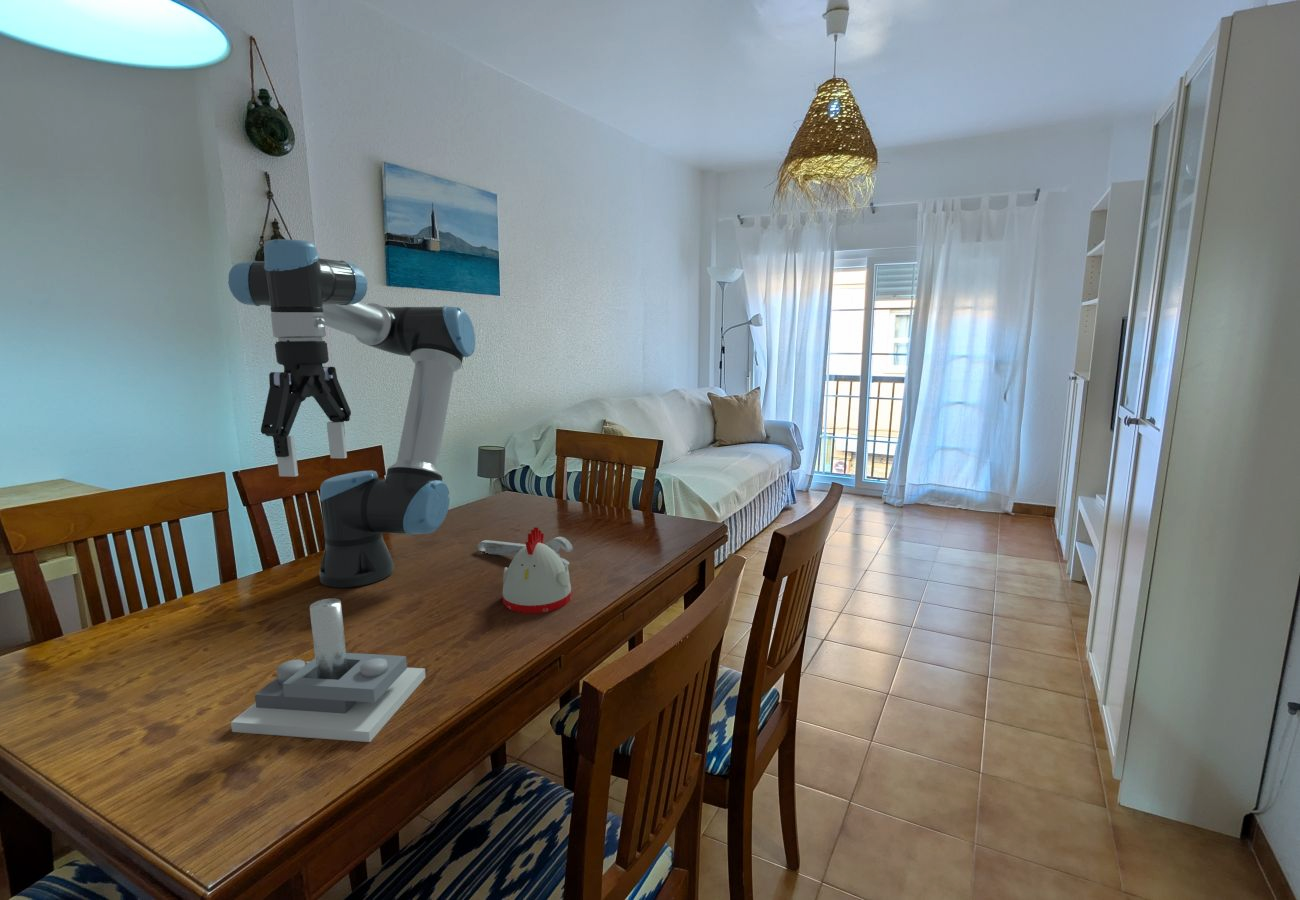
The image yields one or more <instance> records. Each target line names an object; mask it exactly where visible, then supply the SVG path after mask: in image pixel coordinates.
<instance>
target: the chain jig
mask: <svg viewBox="0 0 1300 900" xmlns="http://www.w3.org/2000/svg"><path fill="white" fill-rule="evenodd" d="M346 657H347V666H348V672H347V673H346V674H344V675H343V676H342V677H341V678H340V679H339V680H333V679H318V678H317V670H316V661H315V657H313V659H311V660H310V661H304V660H303V659H292V660H288V661H287V660H286V661H285V662H283V663H280V664H279V665H278V666H277V667H276V673H277V674H276V675H277V677H275V678H274V679H273V680H271V682H269V683H267V684H266V685H265V686H264V687H263V688H261V689H260V690H258V691H257V692H256V693H255V694H254V701H255V702H254V703H253V704H252V705H251V706H249V707H248V708H247V709H246V710H244V711H243V712H241V713H240V714H239V715H238V716H236V717H235V718H233V720H232V721H230V727H231V732H232V733H243V734H254V735H257V734H259V735H267V736H268V735H269V736H270V735H271V736H279V737H280V736H281V737H282V736H283V737H295V738H296V737H298V738H311V739H324V740H337V741H348V742H349V741H351V742H365V743H370V742H372V741H373V739H374V738H375V737H376V736H377V735H378V734H379V732H380V731H381V730H382V729H383V728H384V726H385V725H387V724H388V722H389V721H390V719H392V717H393V716H394V715H395V714H396V712H397V711H398V710H399V709H400V708H401V707H402V706H403V704H405V702H406V700H408V698H410V696H411V695H412V694H413V693H414V692H415V690H416V689H417V688H418V687H419V686H420V685H421V684H422V682H423V681H424V680H425V679H426V668H425V667H424V668H422V667H408V663H407V656H406V655H392V654H375V653H359V652H358V653H355V652H346Z"/></svg>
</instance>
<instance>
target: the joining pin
mask: <svg viewBox="0 0 1300 900" xmlns="http://www.w3.org/2000/svg"><path fill="white" fill-rule="evenodd" d="M342 608H343V607H342V601H341V599H339V598H332V597H331V598H324V599H320V600H317V601H315V602H313V603H311V604H310V605H309V615H310V624H311V632H312V634H311V635H312V641H313V651H314V658H315V661H316V670H317V678H318V679H333V680H339V679H340V678H341V677H342V676H343V675H344V674H346V673H347V672H348V666H347V657H346V653H347V649H346V639H345V629H344V618H343V610H342Z"/></svg>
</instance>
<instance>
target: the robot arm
mask: <svg viewBox="0 0 1300 900" xmlns="http://www.w3.org/2000/svg"><path fill="white" fill-rule="evenodd" d="M263 254H264V257H263V259H264V260H263V261H262V260H261V261H259V260H258V261H257V260H251V261H245V262H238V263H235V264H234V265H233V266H232V267H231V268H230V270H229V272H228V278H227V279H228V288H229V290H230V292H231V295H232V296H233V297H234V298H235V299H236V300H237V301H238V302H240V303H241V304H243V305H247V306H255V307H260V306H267V307H270V317H271V328H272V337H274V338H276V339H277V340H278V341H275V343H274V348H275V349H274V350H275V357H276V362H277V364H278V365H282V366H283V371H277V372H276V371H271V372H269V374H268V375H269V376H268V378H269V379H268V380H269V389H268V394H267V399H266V403H265V406H264V413H263V418H262V423H261V427H260V433H261V434H262V435H265V436H266V437H272V440H273V447H274V455H275V457H276V459H277V467H278V476H279V477H292V478H294V477H298V476H299V471H298V469H299V468H298V461H297V453H296V446H295V438H294V437H295V436H294V435H291V434H290V433H291V430H292V428H293V425H294V422H295V420H296V417H297V414H298V412H299V409H300V407H301V404H302V402H304V401H306V399H307V398H310V397H313V398H314V400H315V401H316V403H317V404H318V405H319V407H320V408H321V410H322V411H323V413H324V414H325V415H326V417H327V418H328V419H329V421H328V422H326V429H327V438H328V447H329V455H330V459H347V458H348V453H347V446H346V445H347V444H346V432H345V423H344V422H349V421H351V420H350V419H351V415H352V411H351V408H350V406H349V403H348V402H347V399H346V396H345V394H344V392H343V389H342V387H341V384H340V382H339V380H338V376H337V375H338V374H337V369H336V367H335V366H324V365H323V364H327V363H328V362H329V350H328V343H327V342H326V340H323V338H325V337H326V334H327V333H326V327H329V328H331V329H335V330H337V331H340V332H343V333H345V334H348V335H350V336H351V335H352V336H354V337H355V339H356V340H357V341H359V342H360V343H361V344H363V345H366V346H369V347H372V348H375V349H377V350H381V351H384V352H388V353H390V354H394V355H399V356H405V357H410V359H411V361H412V362H413V363H414V365H415V366H414V370H413V374H412V375H413V376H412V379H411V380H412V381H411V385H410V391H409V396H408V400H407V407H406V411H405V416H404V422H403V426H402V432H401V437H400V442H399V447H398V451H397V452H398V453H397V458H396V462H395V463H393V464H392V465H390V466H389V467H387V470H386V471H387V472H386V474H385V475H386V476H385V478H384V479H380V478H379V475H378V472H377V471H376V470H362V471H355V472H348V473H344V474H340V475H339V474H338V475H336V476H332V477H330V478H327V479H325V480H323V482H321V484H320V486H319V490H320V491H319V492H320V494H319V495H320V497H319V502H320V509H321V516H322V526H323V533H324V543H325V547H324V551H323V556H322V559H321V563H320V567H319V570H318V571H319V572H318V573H319V582H320V583H321V584H322V585H323V586H326V587H330V588H331V587H332V588H352V587H355V588H356V587H360V586H365V585H370V584H374V583H377V582H379V581H381V580H384V579H386V578H388V577H389V576H390V575H392V574H393V572H394V571H395V566H394V559H393V557H392V555H391V553H390V550H389V549H388V547H387V544H386V543H385V540H384V537H383V536H384V535H383V534H403V535H404V534H405V535H407V534H408V535H411V536H414V535H415V536H416V535H428V534H432V533H434V532H435V531H436V530H437V529H439V528H440V527H441V525H442V524H443V523H444V521H445V519H446V517H447V515H448V511H449V507H450V500H451V499H450V496H449V495H450V489H449V487H448V485H447V484H446V483H445V482H443V479H444V478H443V477H444V475H442V473H441V471H439V469H438V464H439V460H440V453H441V447H442V441H443V436H444V430H445V426H446V418H447V412H448V408H449V401H450V396H451V391H452V390H451V389H452V385H453V379H454V373H455V372H456V371H459V370H460V369H461V368H462V366H463V360H464V358H469V357H471V356H472V355H473V354H474V352H475V349H476V335H475V329H474V326H473V322H472V320H471V318H470V316H469V314H468V313H467V311H465V310H464V309H463V308H462V307H459V306H448V305H444V306H394V307H393V306H382V305H381V304H378V303H372V302H370V303H365V302H363V301H362V300H363V299H364V298H365V297H366V294H367V291H368V279H367V277H366V274H365V273H364V271H363V270H362V268H360V267H359V266H358V265H356V264H354V263H350V262H347V261H345V260H335V259H329V258H328V259H326V258H319V254H318V250H317V246H316V245H315V243H313V242H311V241H307V240H299V239H285V238H284V239H283V238H282V239H281V238H280V239H279V238H278V239H270V240H268V241H266V242H265V243H264V245H263Z"/></svg>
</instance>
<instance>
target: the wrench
mask: <svg viewBox="0 0 1300 900" xmlns="http://www.w3.org/2000/svg"><path fill="white" fill-rule="evenodd" d="M544 544H545V545H547V546H548V547H550V548H551V549H552V550H553V551H554V552H555V553H556V554H557V555H558V556H559V557H560V559H561V560H562V562H563V564H564V565H567V566H568V567H569V566H570V562H569V561H568V560H567V559H565V558H563V557H561V555H560V550H563V551H565V552H566V553H570V552H572V551H573V550H574V548H573V545H572V543H571V542H570V540H568V539H567V538H566V537H563V536H557V537H554V538H552V539H550V540H549V541H547V542H545V543H544ZM525 546H526V544H525V543H516V542H507V541H498V540H488V539H485V540H482V541H480V542H479V541H478V544H477V549H478V552H480V551H485V553H484V554H486V553H488V554H487V555H500V556H510V557H515V556H516V554H517V553H518V552H519V551H520V550H521V549H522V548H523V547H525Z"/></svg>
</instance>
